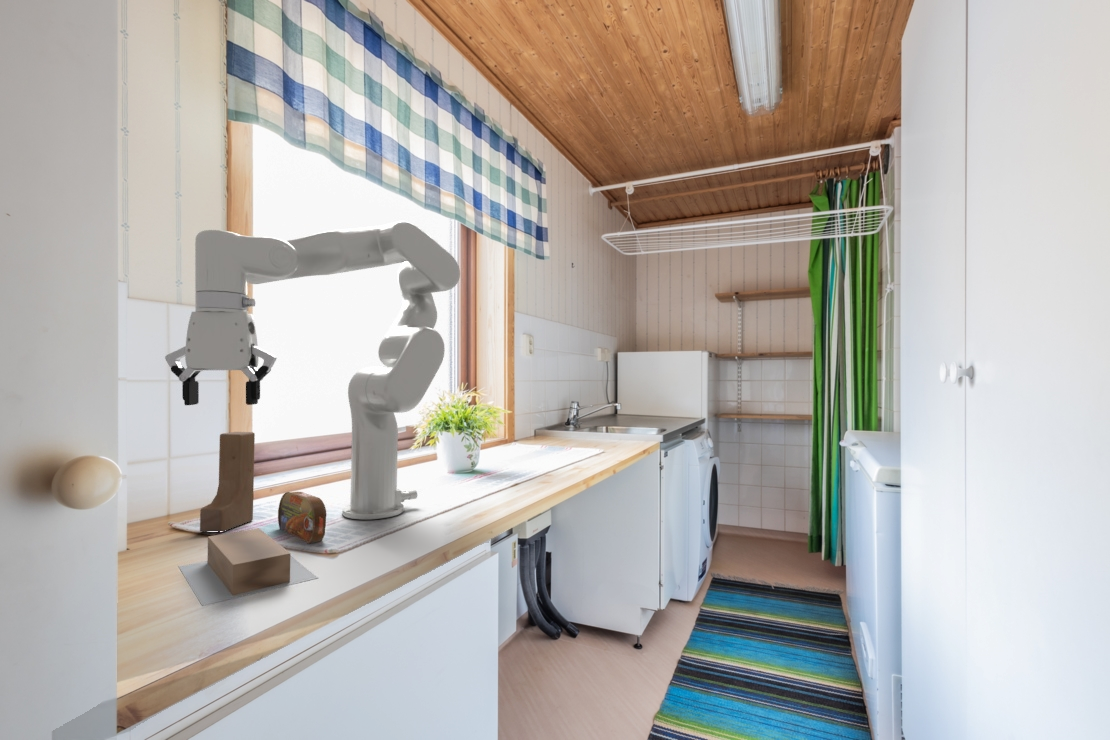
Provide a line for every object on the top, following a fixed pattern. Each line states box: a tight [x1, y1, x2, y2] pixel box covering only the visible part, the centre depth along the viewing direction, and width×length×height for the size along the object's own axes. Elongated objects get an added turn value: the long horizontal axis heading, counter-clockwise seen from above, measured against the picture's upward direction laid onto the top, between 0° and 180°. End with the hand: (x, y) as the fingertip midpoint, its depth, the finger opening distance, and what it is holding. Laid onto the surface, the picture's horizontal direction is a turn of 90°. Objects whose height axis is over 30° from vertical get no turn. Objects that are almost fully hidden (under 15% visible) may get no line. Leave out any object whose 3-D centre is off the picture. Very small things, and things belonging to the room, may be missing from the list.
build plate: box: [178, 554, 319, 607], centre depth 78 cm, size 14×18×1 cm
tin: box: [277, 491, 327, 545], centre depth 96 cm, size 15×3×8 cm, turn 48°
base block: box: [206, 527, 291, 596], centre depth 78 cm, size 7×16×4 cm, turn 43°
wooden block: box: [199, 431, 256, 532], centre depth 104 cm, size 9×4×18 cm, turn 173°
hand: (221, 404), depth 92 cm, fingers open, 9 cm apart
